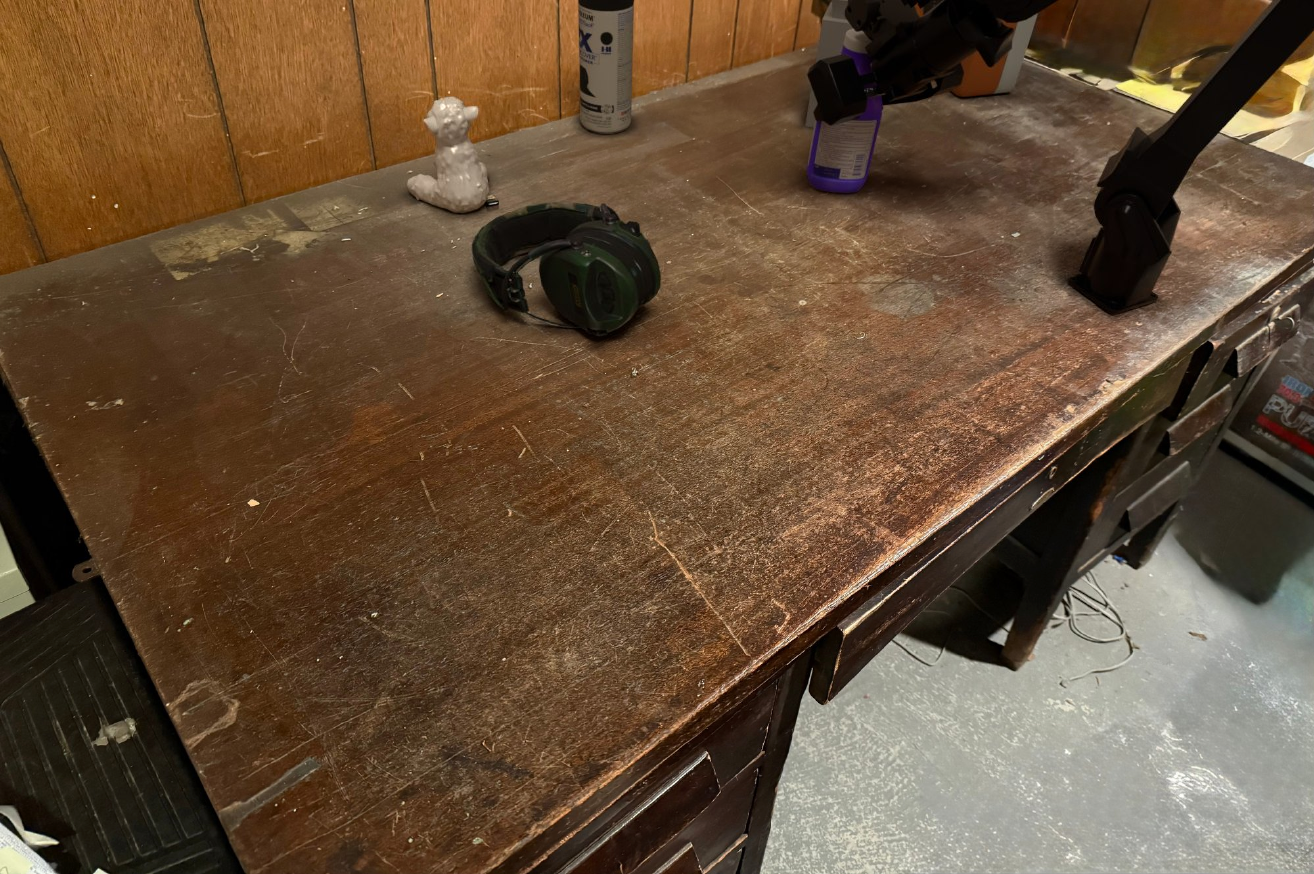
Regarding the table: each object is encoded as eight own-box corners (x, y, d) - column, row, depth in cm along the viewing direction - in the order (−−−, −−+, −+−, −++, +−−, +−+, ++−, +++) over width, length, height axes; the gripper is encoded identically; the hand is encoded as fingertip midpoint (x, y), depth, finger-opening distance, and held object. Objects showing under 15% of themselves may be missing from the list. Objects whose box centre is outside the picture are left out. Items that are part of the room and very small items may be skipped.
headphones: (704, 231, 86) (541, 201, 95) (642, 178, 74) (463, 150, 83) (663, 363, 86) (504, 320, 95) (595, 331, 74) (421, 286, 83)
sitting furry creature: (483, 173, 105) (472, 71, 96) (516, 206, 100) (507, 101, 91) (407, 192, 101) (388, 88, 92) (436, 227, 96) (420, 120, 87)
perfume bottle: (805, 126, 117) (828, -20, 105) (813, 106, 122) (837, -37, 109) (856, 134, 116) (885, -13, 103) (862, 114, 121) (892, -30, 108)
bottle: (863, 175, 108) (895, 27, 96) (867, 198, 104) (901, 46, 92) (804, 170, 108) (828, 22, 96) (805, 193, 104) (830, 41, 92)
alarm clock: (897, 52, 137) (930, -99, 123) (946, 48, 139) (985, -101, 125) (960, 101, 125) (1006, -60, 110) (1014, 96, 127) (1065, -64, 113)
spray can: (572, 117, 117) (567, -51, 103) (620, 109, 119) (621, -56, 105) (591, 138, 112) (589, -33, 98) (640, 130, 114) (644, -39, 101)
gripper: (973, -50, 90) (875, 28, 104) (836, -24, 82) (750, 57, 96) (1010, 55, 91) (907, 118, 105) (878, 91, 83) (786, 154, 97)
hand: (840, 110), depth 101 cm, fingers closed on bottle, 7 cm apart
